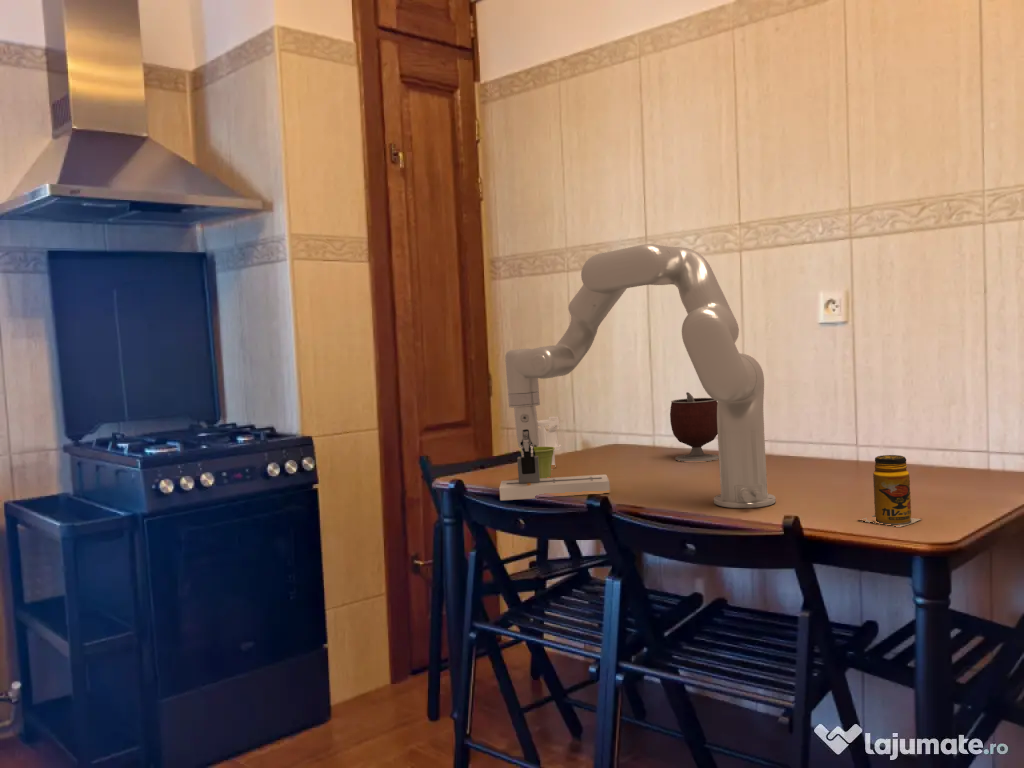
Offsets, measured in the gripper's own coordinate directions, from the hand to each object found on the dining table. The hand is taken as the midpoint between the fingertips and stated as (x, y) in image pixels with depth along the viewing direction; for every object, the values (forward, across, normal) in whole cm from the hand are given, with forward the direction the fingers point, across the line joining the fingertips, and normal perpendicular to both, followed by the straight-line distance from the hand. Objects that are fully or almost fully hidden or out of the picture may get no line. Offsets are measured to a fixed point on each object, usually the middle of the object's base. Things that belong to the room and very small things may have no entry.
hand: (529, 470), depth 205 cm
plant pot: (+6, +19, -2) cm, 20 cm away
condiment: (+7, -47, -67) cm, 82 cm away
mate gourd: (+6, +39, -47) cm, 61 cm away
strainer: (+6, +39, -5) cm, 40 cm away
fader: (+3, 0, 0) cm, 3 cm away
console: (+6, 0, -6) cm, 8 cm away
